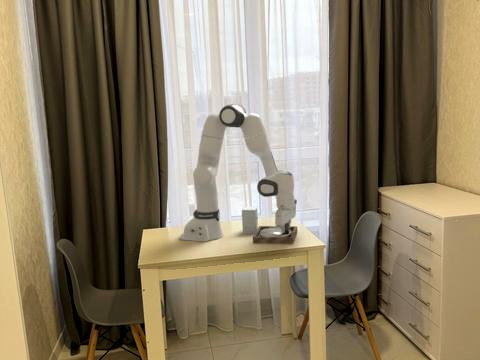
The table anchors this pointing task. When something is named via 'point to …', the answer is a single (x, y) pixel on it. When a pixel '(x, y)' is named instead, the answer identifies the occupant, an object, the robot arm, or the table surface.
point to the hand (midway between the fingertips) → (285, 230)
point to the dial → (276, 232)
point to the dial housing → (275, 239)
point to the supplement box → (249, 219)
